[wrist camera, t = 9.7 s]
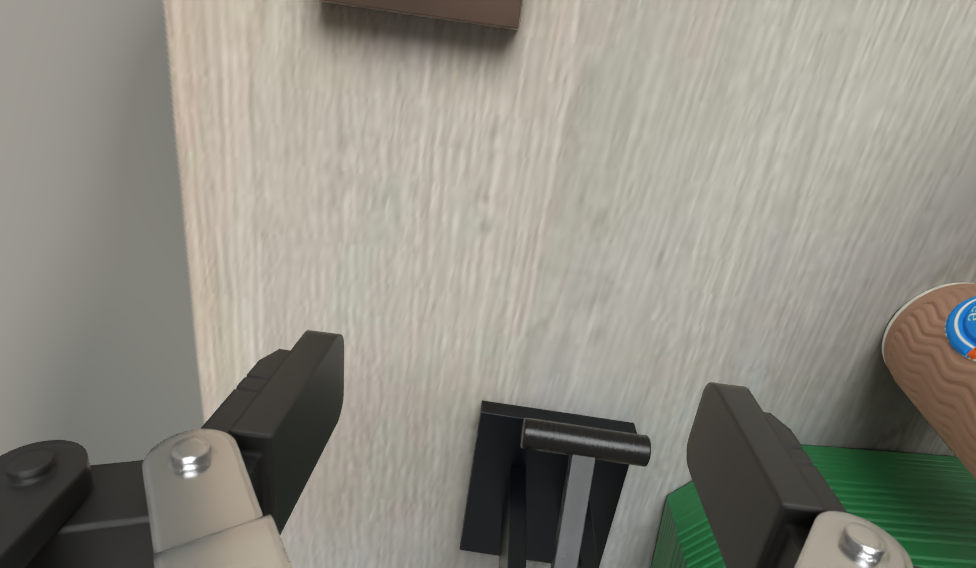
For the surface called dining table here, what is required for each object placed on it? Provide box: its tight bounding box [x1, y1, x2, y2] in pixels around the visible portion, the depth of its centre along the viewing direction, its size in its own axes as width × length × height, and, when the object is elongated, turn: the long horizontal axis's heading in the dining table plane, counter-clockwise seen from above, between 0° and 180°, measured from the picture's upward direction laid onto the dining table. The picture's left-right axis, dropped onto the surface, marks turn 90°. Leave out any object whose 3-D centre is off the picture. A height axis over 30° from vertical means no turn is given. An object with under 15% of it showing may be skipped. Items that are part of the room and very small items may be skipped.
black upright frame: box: [460, 401, 637, 568], centre depth 32 cm, size 12×10×14 cm
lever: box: [520, 418, 651, 568], centre depth 27 cm, size 13×6×2 cm, turn 172°
